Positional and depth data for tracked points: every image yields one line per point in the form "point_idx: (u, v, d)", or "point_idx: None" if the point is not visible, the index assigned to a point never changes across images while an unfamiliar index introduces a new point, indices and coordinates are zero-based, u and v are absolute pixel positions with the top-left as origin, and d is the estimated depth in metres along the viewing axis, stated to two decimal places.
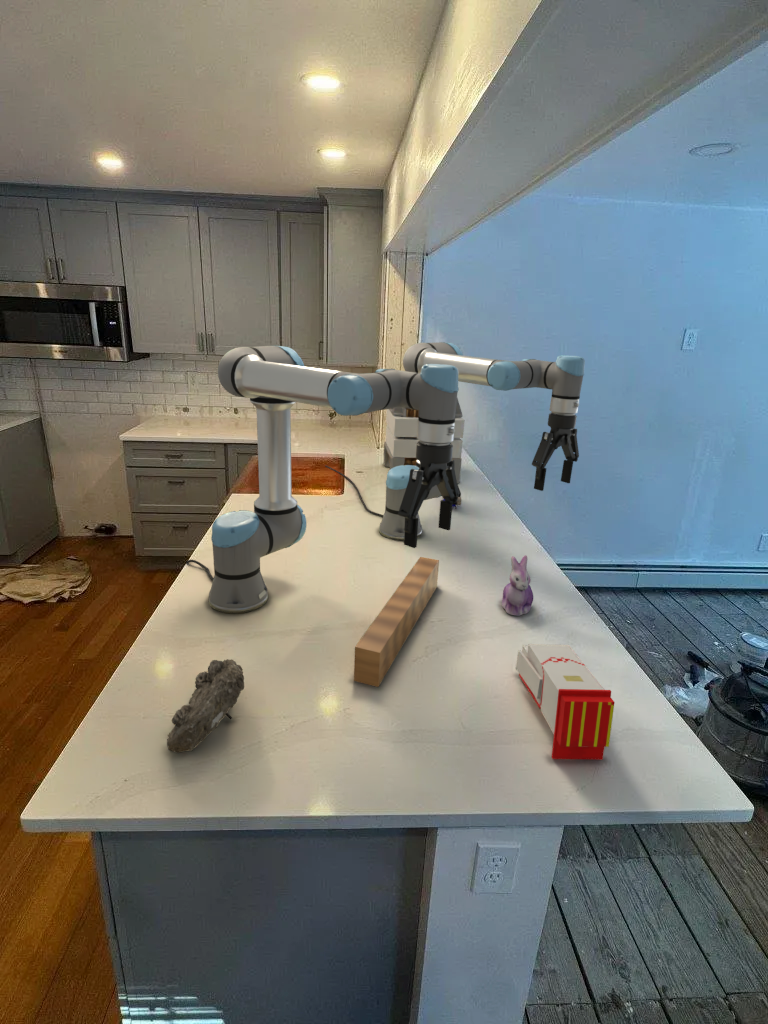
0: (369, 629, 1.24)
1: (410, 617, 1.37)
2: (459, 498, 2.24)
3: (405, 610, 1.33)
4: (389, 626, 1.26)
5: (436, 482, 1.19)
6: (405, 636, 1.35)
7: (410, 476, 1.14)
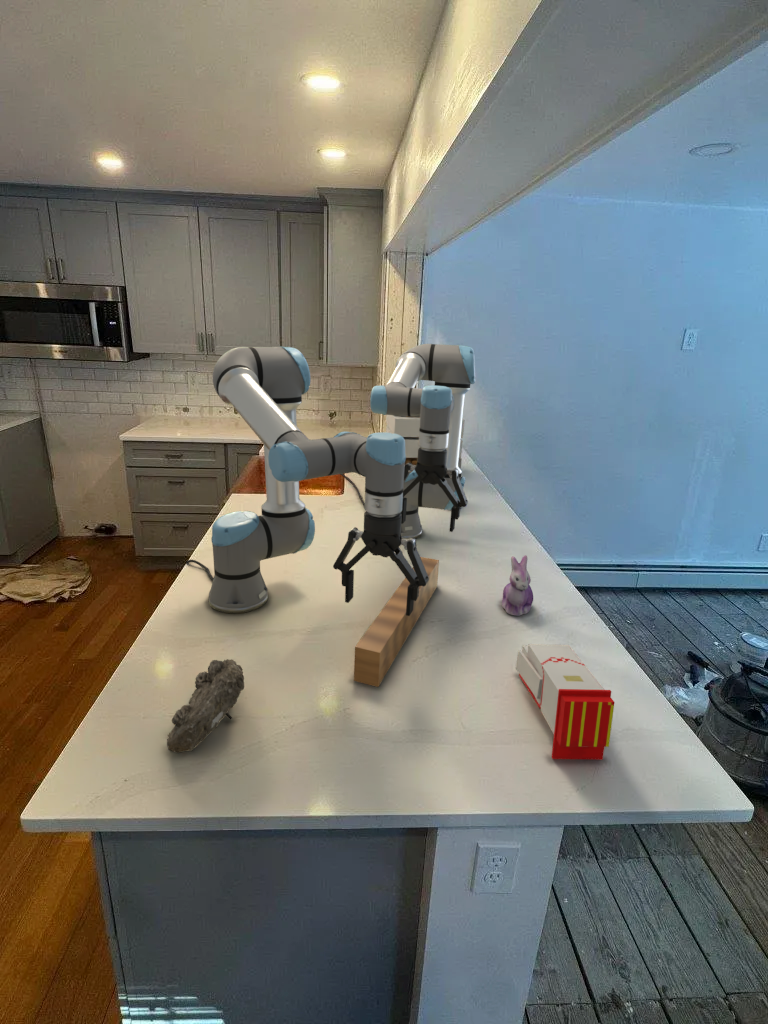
0: (369, 629, 1.24)
1: (410, 617, 1.37)
2: None
3: (405, 610, 1.33)
4: (389, 626, 1.26)
5: (379, 553, 1.15)
6: (405, 636, 1.35)
7: None
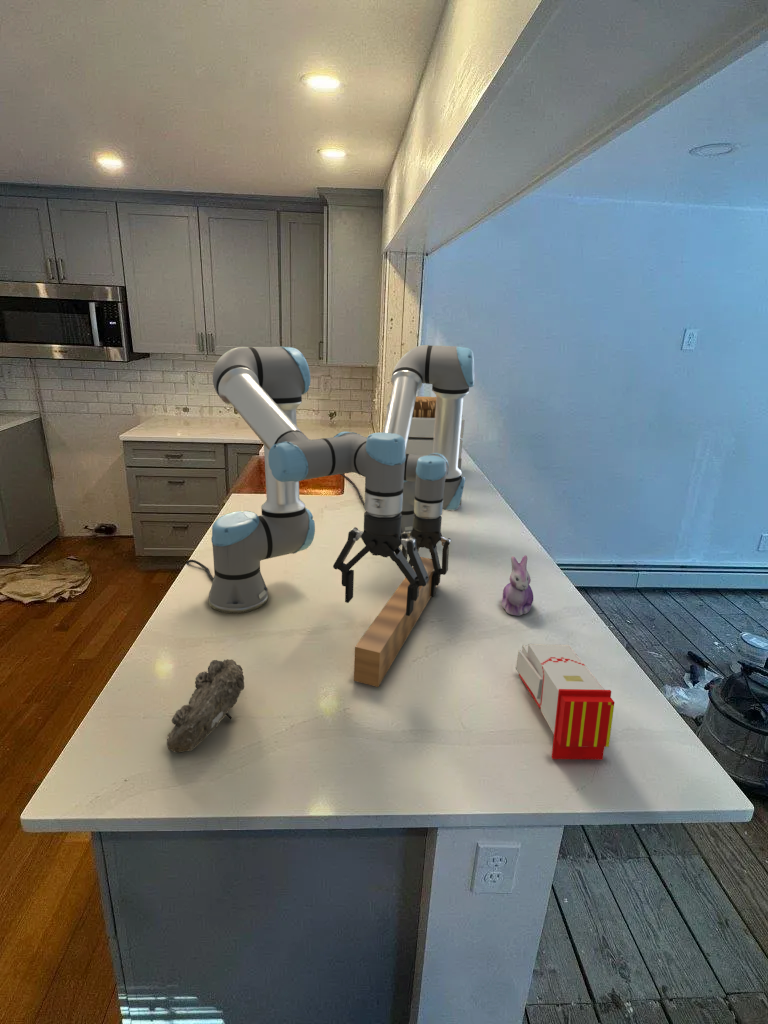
0: (369, 629, 1.24)
1: (410, 617, 1.37)
2: None
3: (405, 610, 1.33)
4: (389, 626, 1.26)
5: (379, 553, 1.15)
6: (405, 636, 1.35)
7: None
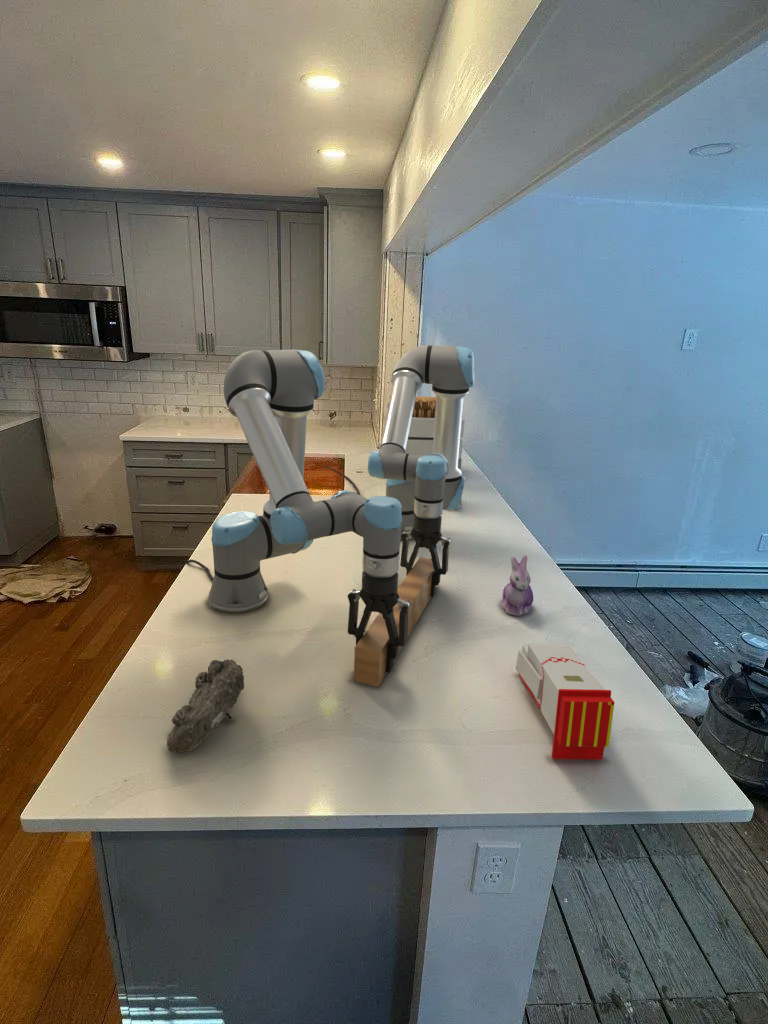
0: (369, 629, 1.24)
1: (410, 617, 1.37)
2: None
3: None
4: None
5: (377, 609, 1.19)
6: None
7: None
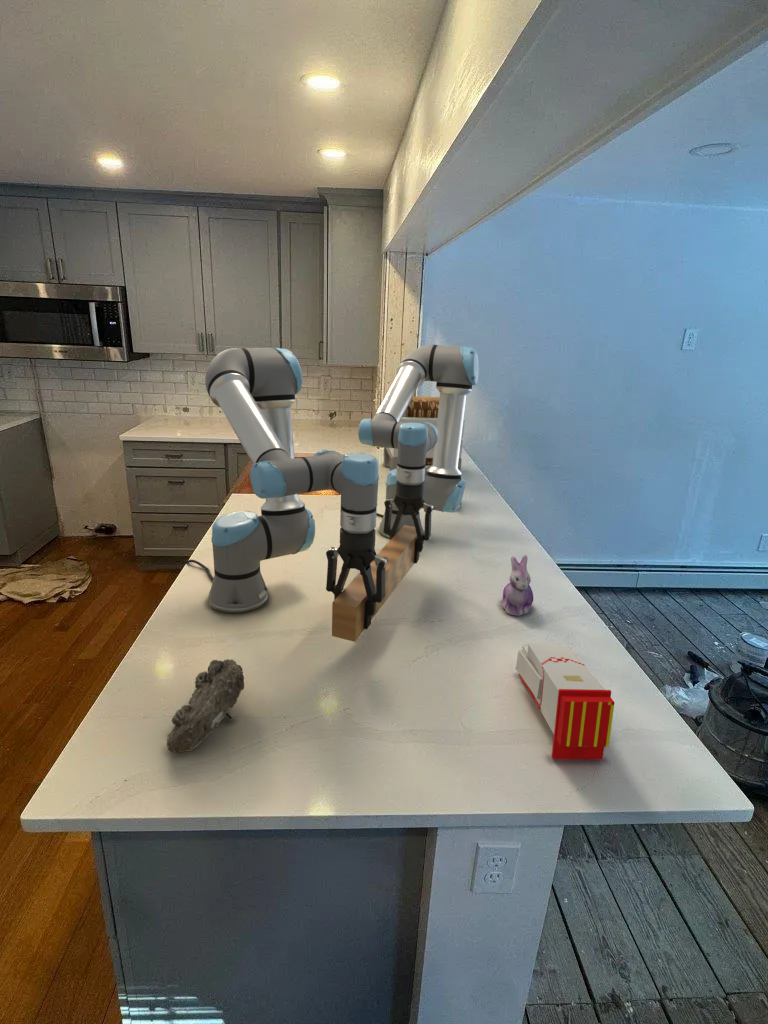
0: (348, 587, 1.26)
1: (390, 579, 1.39)
2: None
3: (385, 571, 1.35)
4: None
5: (354, 566, 1.21)
6: (385, 597, 1.37)
7: None
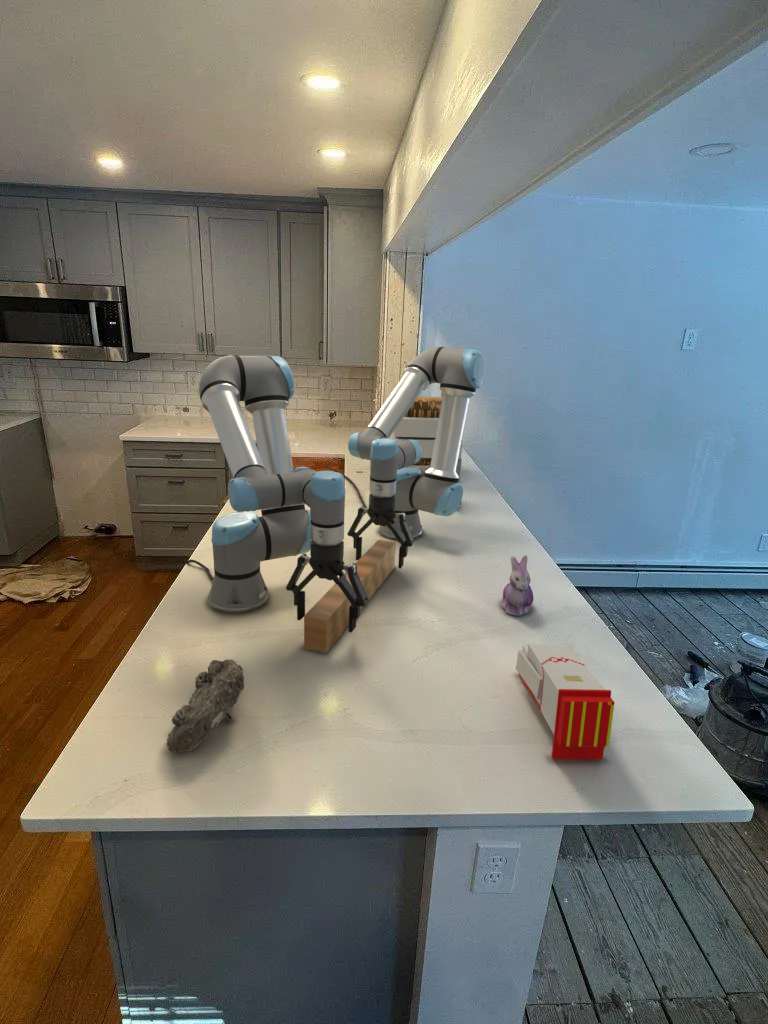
0: (319, 601, 1.35)
1: None
2: None
3: None
4: (338, 598, 1.36)
5: (324, 576, 1.29)
6: None
7: None
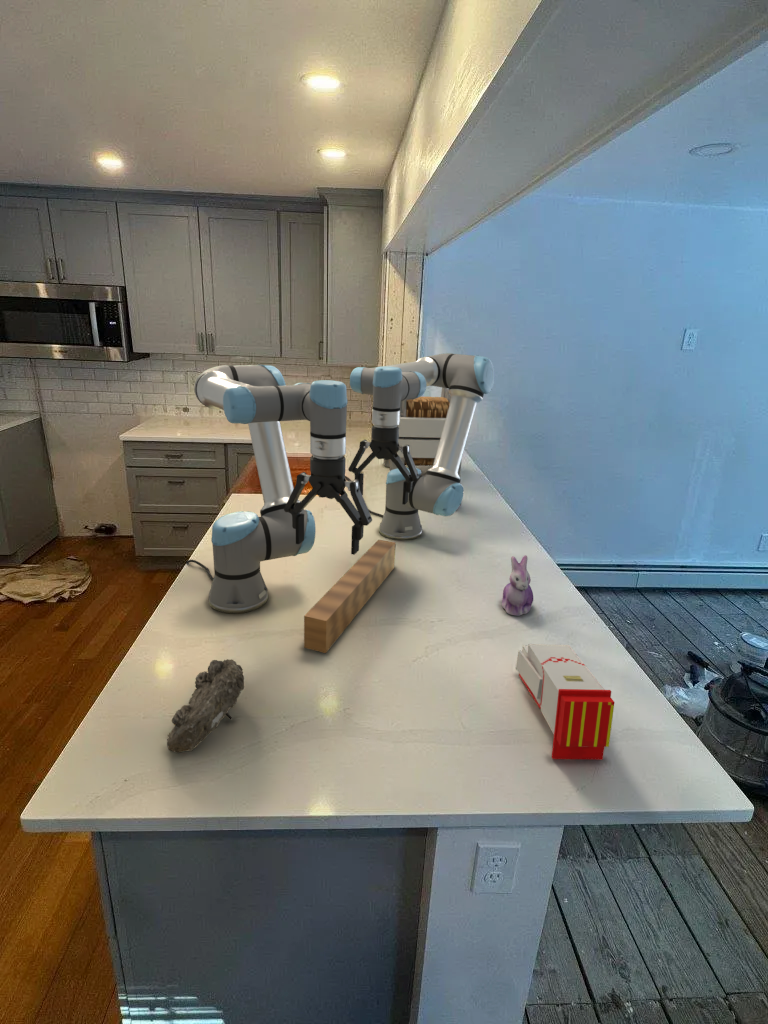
0: (319, 601, 1.35)
1: (362, 592, 1.48)
2: None
3: (356, 585, 1.43)
4: (338, 598, 1.36)
5: (325, 494, 1.22)
6: (356, 610, 1.46)
7: None
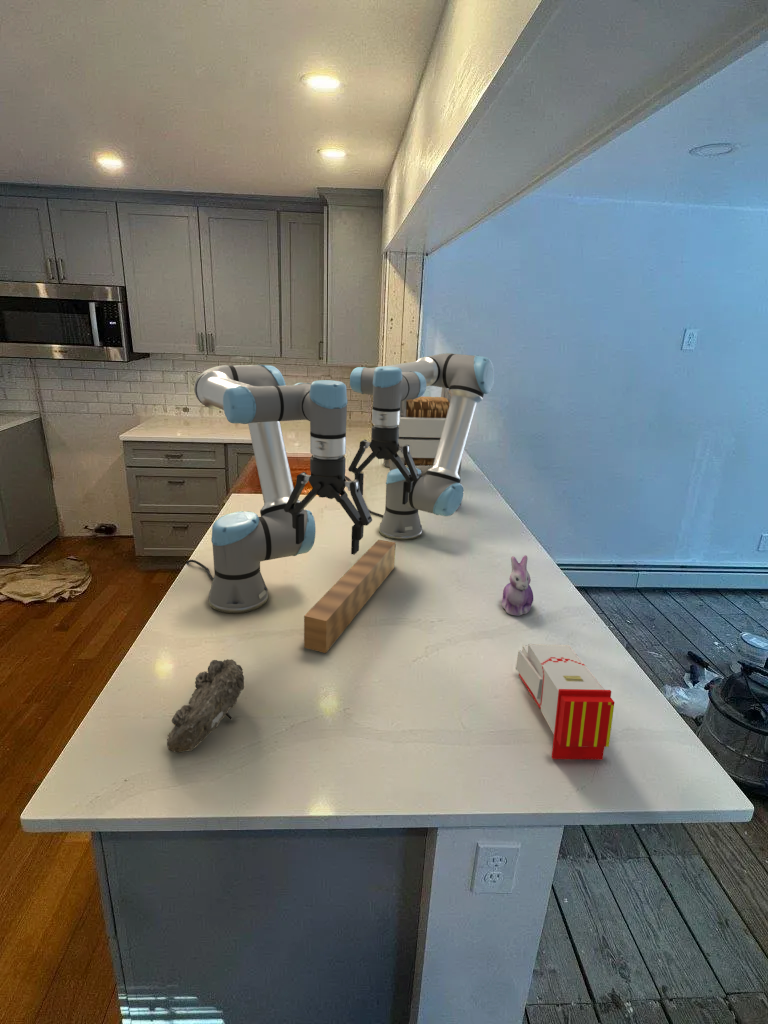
0: (319, 601, 1.35)
1: (362, 592, 1.48)
2: None
3: (356, 585, 1.43)
4: (338, 598, 1.36)
5: (325, 494, 1.22)
6: (356, 610, 1.46)
7: None
